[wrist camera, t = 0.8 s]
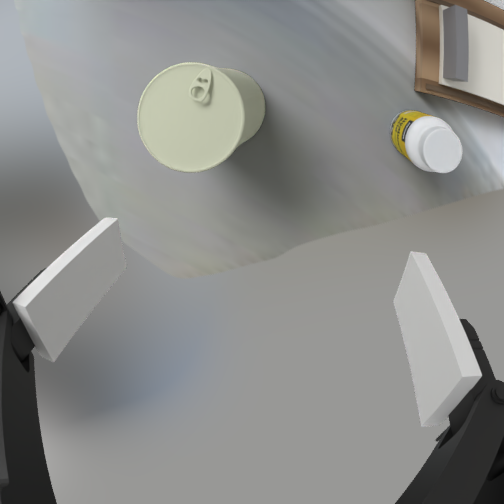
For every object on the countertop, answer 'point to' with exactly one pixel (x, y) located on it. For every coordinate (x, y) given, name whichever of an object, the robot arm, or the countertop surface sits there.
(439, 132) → the supplement bottle
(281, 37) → the countertop surface
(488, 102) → the board
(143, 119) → the can
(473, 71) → the lid
